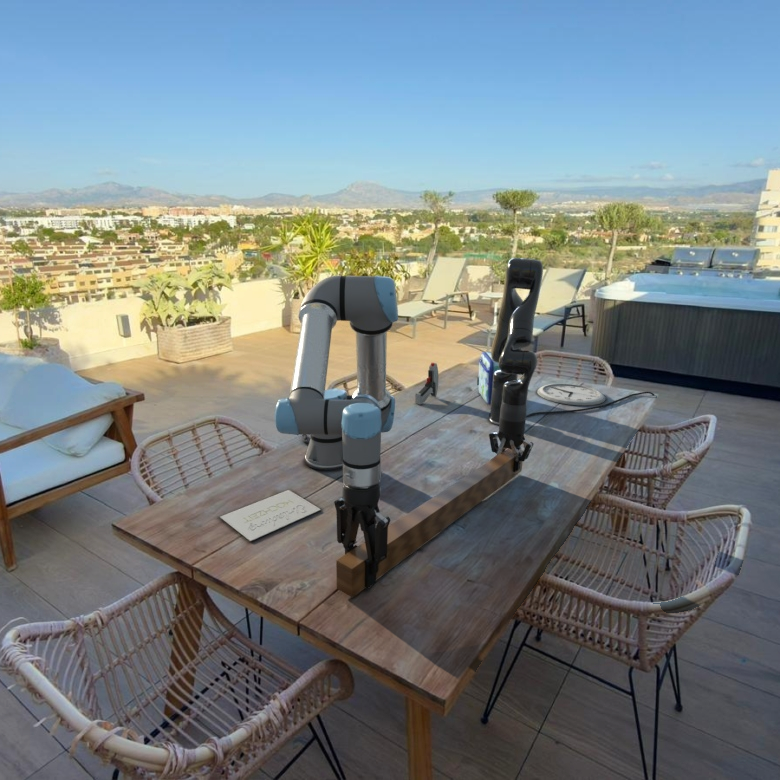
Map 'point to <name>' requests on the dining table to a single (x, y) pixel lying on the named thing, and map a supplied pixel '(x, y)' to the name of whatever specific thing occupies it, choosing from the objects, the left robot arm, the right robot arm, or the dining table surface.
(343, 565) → the bar
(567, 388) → the wall clock
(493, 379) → the right robot arm
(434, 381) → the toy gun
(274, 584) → the dining table surface
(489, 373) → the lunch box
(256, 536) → the invitation card
